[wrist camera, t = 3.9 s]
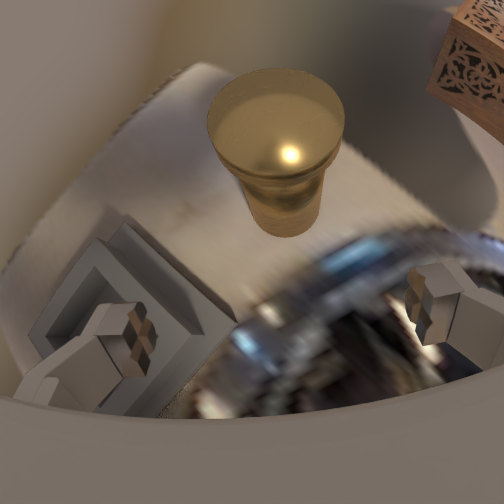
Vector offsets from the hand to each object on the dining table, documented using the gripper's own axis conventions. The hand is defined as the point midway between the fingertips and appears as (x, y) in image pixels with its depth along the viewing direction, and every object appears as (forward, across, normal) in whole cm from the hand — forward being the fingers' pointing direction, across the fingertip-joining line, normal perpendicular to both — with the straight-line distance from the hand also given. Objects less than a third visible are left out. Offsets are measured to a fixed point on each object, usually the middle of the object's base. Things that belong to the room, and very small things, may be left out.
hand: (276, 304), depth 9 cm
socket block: (+9, +13, +10) cm, 18 cm away
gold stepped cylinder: (+16, -1, +3) cm, 16 cm away
